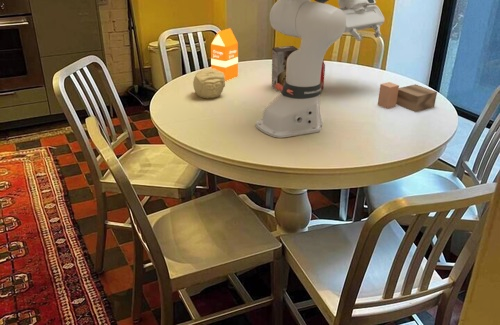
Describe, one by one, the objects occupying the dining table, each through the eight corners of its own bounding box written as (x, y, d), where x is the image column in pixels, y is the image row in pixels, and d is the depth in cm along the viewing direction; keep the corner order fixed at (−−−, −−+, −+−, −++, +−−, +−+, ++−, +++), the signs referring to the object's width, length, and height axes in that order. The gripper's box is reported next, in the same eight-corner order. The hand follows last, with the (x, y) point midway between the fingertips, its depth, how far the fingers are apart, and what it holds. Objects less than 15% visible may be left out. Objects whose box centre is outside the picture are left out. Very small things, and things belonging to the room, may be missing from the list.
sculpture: (200, 102, 178) (198, 74, 173) (190, 93, 187) (188, 65, 182) (228, 98, 182) (228, 70, 177) (217, 89, 192) (216, 62, 187)
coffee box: (291, 84, 197) (293, 45, 190) (297, 89, 192) (300, 49, 184) (270, 86, 195) (271, 47, 187) (276, 91, 189) (277, 51, 182)
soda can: (322, 93, 188) (325, 63, 182) (304, 92, 189) (306, 62, 184) (323, 87, 194) (326, 58, 189) (306, 86, 195) (308, 57, 190)
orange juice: (211, 78, 204) (209, 30, 195) (224, 73, 211) (223, 27, 202) (225, 81, 200) (225, 33, 191) (238, 76, 207) (238, 29, 198)
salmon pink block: (387, 108, 173) (390, 87, 170) (377, 105, 177) (380, 84, 173) (395, 106, 176) (399, 85, 172) (386, 102, 179) (389, 82, 175)
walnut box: (414, 112, 171) (417, 96, 168) (394, 104, 178) (396, 88, 176) (434, 107, 175) (437, 91, 173) (412, 99, 183) (415, 84, 180)
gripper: (336, 3, 170) (353, 37, 168) (377, -2, 180) (394, 29, 177) (327, 14, 176) (343, 47, 173) (367, 9, 186) (383, 39, 183)
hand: (369, 38), depth 175 cm, fingers open, 8 cm apart
